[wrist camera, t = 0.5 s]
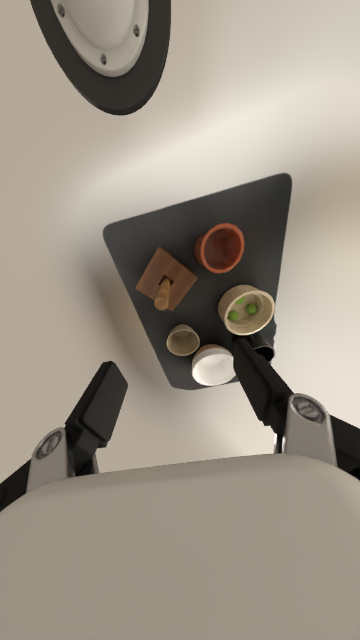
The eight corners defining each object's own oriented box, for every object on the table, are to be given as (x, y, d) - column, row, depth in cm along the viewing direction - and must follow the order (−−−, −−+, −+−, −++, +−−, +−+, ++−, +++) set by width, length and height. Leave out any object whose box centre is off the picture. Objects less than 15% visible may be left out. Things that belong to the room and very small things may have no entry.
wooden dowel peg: (162, 277, 36) (150, 305, 18) (166, 271, 35) (158, 294, 17) (168, 282, 36) (163, 313, 19) (172, 276, 36) (171, 302, 18)
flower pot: (174, 345, 48) (174, 359, 41) (162, 324, 43) (160, 336, 37) (199, 336, 46) (203, 350, 40) (190, 313, 41) (193, 325, 35)
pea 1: (224, 314, 41) (228, 319, 39) (231, 307, 40) (235, 311, 38) (231, 319, 42) (235, 323, 40) (238, 312, 41) (242, 316, 38)
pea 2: (230, 298, 39) (234, 302, 36) (237, 290, 38) (242, 293, 35) (236, 303, 40) (241, 307, 37) (244, 296, 38) (249, 299, 36)
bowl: (194, 372, 55) (197, 389, 48) (184, 344, 48) (186, 361, 41) (231, 363, 54) (240, 380, 47) (227, 333, 46) (236, 348, 39)
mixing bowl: (208, 309, 41) (214, 320, 35) (240, 274, 36) (253, 279, 30) (236, 329, 45) (245, 342, 39) (267, 300, 40) (284, 309, 34)
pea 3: (241, 308, 40) (246, 312, 38) (249, 300, 39) (254, 304, 37) (247, 313, 41) (252, 317, 39) (255, 306, 40) (261, 309, 38)
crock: (187, 253, 33) (191, 255, 24) (208, 222, 30) (222, 211, 21) (210, 273, 36) (222, 281, 27) (231, 246, 33) (253, 244, 24)
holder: (141, 281, 36) (134, 288, 30) (161, 246, 32) (158, 246, 26) (172, 302, 39) (171, 311, 33) (194, 272, 35) (198, 277, 29)
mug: (255, 319, 44) (273, 334, 36) (259, 344, 49) (276, 362, 41) (228, 329, 45) (240, 346, 37) (235, 352, 51) (247, 371, 43)
